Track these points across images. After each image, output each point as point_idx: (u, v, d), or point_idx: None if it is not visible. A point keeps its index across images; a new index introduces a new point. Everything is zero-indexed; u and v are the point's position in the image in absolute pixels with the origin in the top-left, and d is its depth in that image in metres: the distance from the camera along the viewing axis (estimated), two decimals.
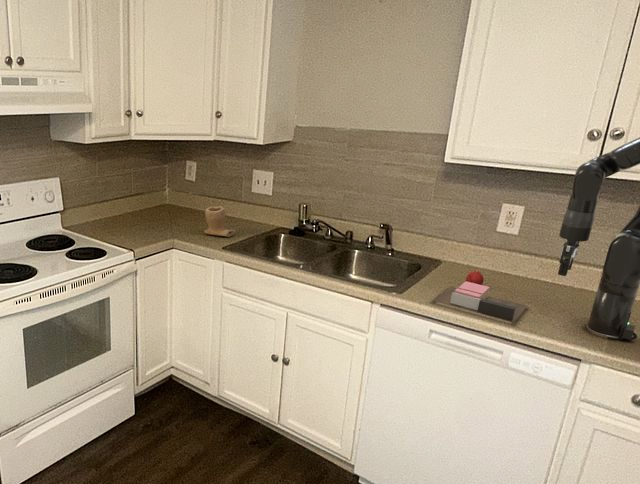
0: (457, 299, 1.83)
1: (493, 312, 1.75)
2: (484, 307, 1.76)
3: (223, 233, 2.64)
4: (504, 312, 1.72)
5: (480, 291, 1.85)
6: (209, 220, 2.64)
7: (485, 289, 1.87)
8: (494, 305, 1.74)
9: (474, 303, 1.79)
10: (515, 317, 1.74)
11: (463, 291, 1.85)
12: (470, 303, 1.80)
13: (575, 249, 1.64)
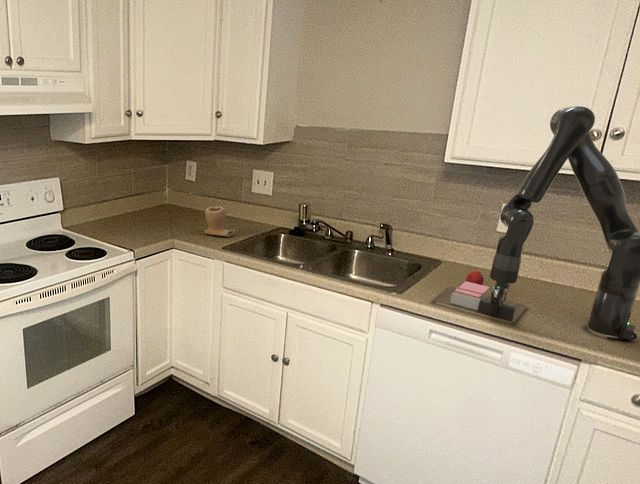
0: (457, 299, 1.83)
1: None
2: (484, 307, 1.76)
3: (223, 233, 2.64)
4: (504, 312, 1.72)
5: (480, 291, 1.85)
6: (209, 220, 2.64)
7: (485, 289, 1.87)
8: None
9: (474, 303, 1.79)
10: (515, 317, 1.74)
11: (463, 291, 1.85)
12: (470, 303, 1.80)
13: (504, 291, 1.71)
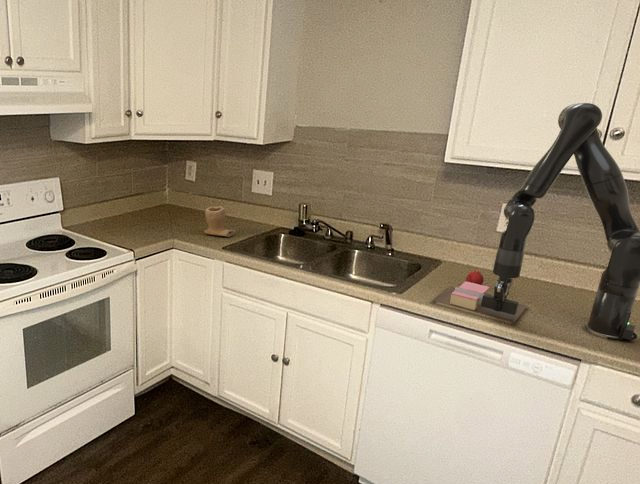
0: None
1: None
2: (487, 302, 1.77)
3: (223, 233, 2.64)
4: (507, 307, 1.74)
5: (480, 291, 1.85)
6: (209, 220, 2.64)
7: (485, 289, 1.87)
8: None
9: None
10: (515, 317, 1.74)
11: (460, 294, 1.82)
12: None
13: (507, 286, 1.72)
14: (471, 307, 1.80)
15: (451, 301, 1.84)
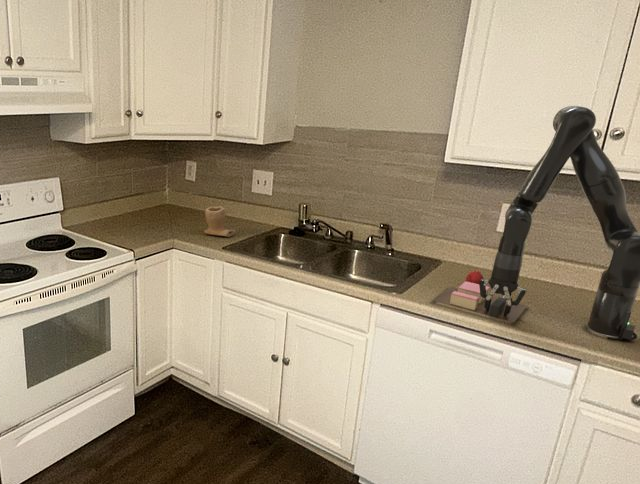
0: None
1: None
2: None
3: (223, 233, 2.64)
4: None
5: None
6: (209, 220, 2.64)
7: None
8: (494, 301, 1.78)
9: None
10: (515, 317, 1.74)
11: (460, 294, 1.82)
12: None
13: (494, 286, 1.75)
14: (471, 307, 1.80)
15: (451, 301, 1.84)
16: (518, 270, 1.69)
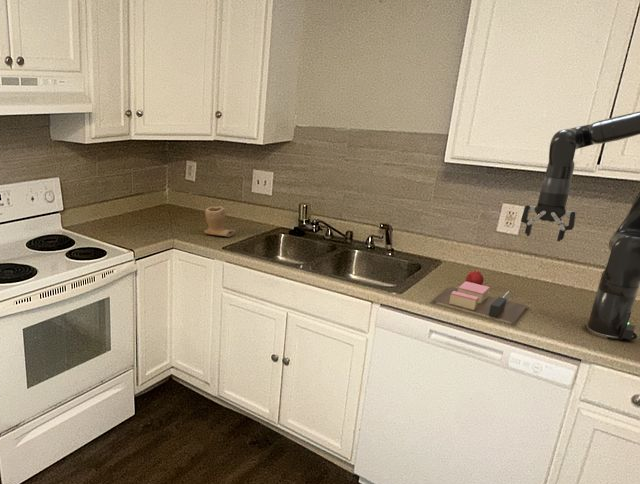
0: (505, 297, 1.85)
1: None
2: None
3: (223, 233, 2.64)
4: None
5: (480, 291, 1.85)
6: (209, 220, 2.64)
7: (485, 289, 1.87)
8: (494, 301, 1.78)
9: None
10: (515, 317, 1.74)
11: (460, 294, 1.83)
12: None
13: (540, 212, 1.73)
14: (471, 307, 1.80)
15: (450, 301, 1.84)
16: (566, 194, 1.68)
